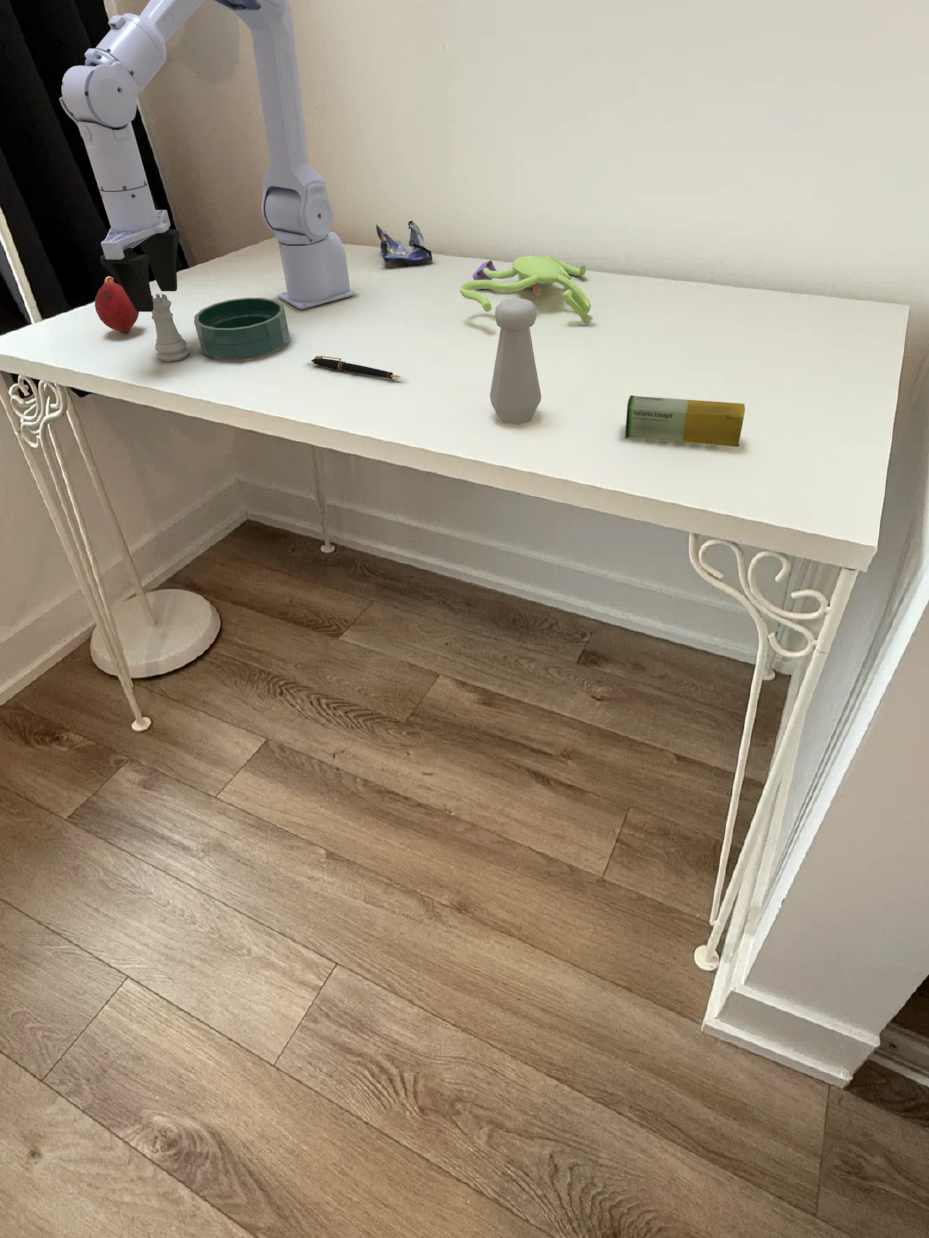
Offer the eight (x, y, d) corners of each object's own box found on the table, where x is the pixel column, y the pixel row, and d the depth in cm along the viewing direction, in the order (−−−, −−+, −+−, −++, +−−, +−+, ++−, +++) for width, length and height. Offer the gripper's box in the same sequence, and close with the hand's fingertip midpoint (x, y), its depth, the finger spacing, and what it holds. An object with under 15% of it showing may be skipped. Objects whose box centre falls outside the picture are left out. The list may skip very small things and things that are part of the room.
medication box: (623, 439, 85) (625, 407, 82) (626, 426, 87) (629, 393, 84) (738, 448, 82) (745, 415, 79) (740, 434, 84) (746, 401, 81)
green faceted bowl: (268, 322, 117) (261, 291, 114) (305, 346, 109) (299, 313, 106) (190, 344, 112) (181, 312, 109) (223, 370, 104) (214, 337, 101)
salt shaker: (488, 407, 92) (485, 294, 84) (536, 403, 93) (538, 290, 84) (493, 430, 88) (491, 313, 80) (544, 426, 88) (547, 309, 80)
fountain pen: (405, 380, 99) (404, 369, 98) (401, 384, 98) (399, 373, 97) (314, 363, 105) (312, 352, 104) (309, 366, 104) (307, 355, 103)
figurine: (458, 335, 110) (456, 294, 106) (472, 273, 130) (471, 237, 126) (591, 333, 108) (593, 292, 104) (584, 271, 128) (586, 234, 124)
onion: (133, 341, 114) (114, 284, 108) (97, 340, 115) (77, 283, 109) (152, 326, 118) (135, 271, 113) (118, 325, 119) (99, 270, 114)
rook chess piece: (196, 354, 109) (180, 296, 103) (168, 365, 106) (150, 305, 101) (179, 347, 111) (162, 289, 106) (151, 357, 109) (132, 298, 103)
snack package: (446, 249, 141) (385, 245, 144) (443, 212, 136) (379, 209, 139) (427, 282, 134) (363, 278, 136) (423, 245, 129) (357, 241, 131)
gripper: (127, 201, 89) (163, 320, 98) (178, 171, 100) (206, 282, 109) (70, 202, 90) (110, 320, 99) (127, 173, 101) (158, 282, 110)
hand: (157, 300), depth 104 cm, fingers open, 7 cm apart
